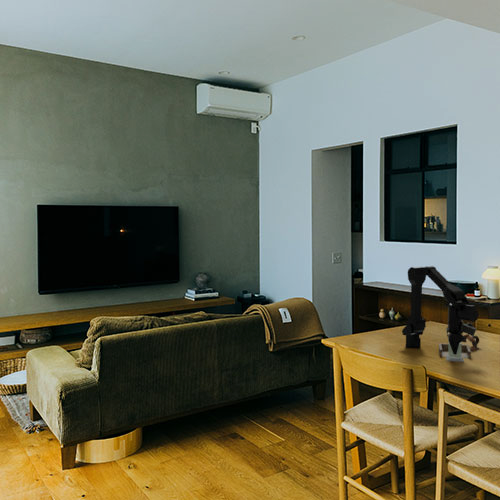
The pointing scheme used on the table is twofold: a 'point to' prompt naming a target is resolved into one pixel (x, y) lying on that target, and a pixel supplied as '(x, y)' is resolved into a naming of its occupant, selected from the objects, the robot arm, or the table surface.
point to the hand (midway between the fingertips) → (454, 352)
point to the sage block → (452, 351)
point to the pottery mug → (472, 339)
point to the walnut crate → (464, 350)
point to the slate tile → (454, 359)
